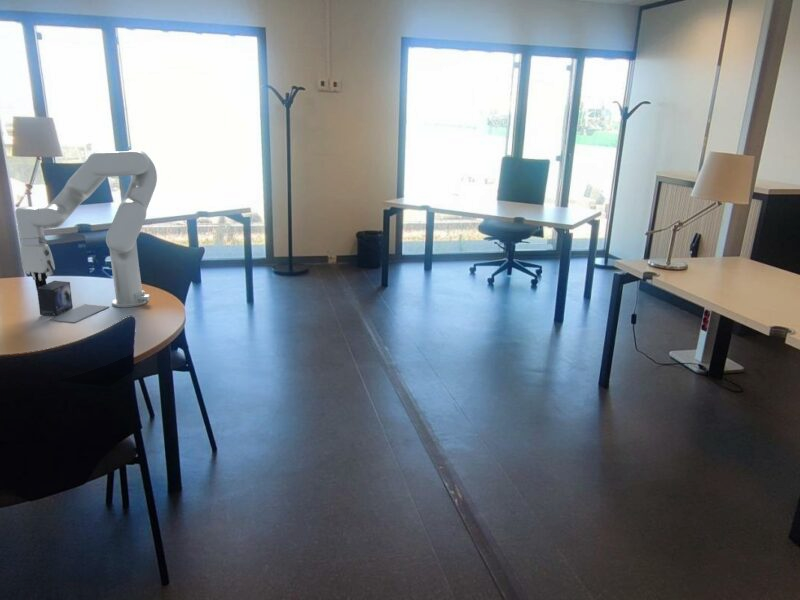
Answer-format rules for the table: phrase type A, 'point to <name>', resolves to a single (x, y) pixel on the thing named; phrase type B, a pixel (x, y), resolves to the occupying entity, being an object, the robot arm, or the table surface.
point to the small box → (54, 298)
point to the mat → (79, 313)
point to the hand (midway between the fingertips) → (42, 289)
